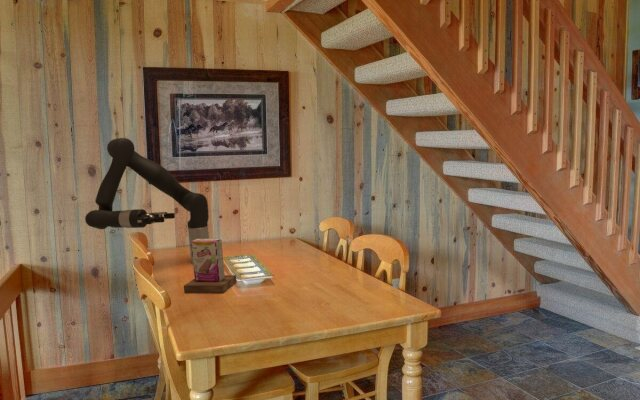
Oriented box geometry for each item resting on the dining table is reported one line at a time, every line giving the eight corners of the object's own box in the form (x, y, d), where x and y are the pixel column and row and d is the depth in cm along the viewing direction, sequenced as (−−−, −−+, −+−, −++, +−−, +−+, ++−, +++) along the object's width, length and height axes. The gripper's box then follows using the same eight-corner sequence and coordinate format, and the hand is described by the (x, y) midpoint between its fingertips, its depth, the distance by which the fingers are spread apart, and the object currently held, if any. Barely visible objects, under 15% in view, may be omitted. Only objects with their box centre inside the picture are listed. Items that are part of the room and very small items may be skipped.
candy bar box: (194, 281, 210) (190, 241, 208) (200, 278, 215) (196, 238, 212) (219, 282, 207) (215, 241, 204) (225, 278, 211) (221, 238, 209)
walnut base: (200, 282, 220) (199, 275, 219) (236, 282, 216) (235, 275, 216) (184, 293, 206) (183, 285, 206) (222, 293, 202) (222, 285, 202)
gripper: (122, 212, 211) (159, 211, 208) (141, 206, 225) (176, 205, 221) (124, 231, 212) (161, 230, 209) (143, 224, 226) (178, 223, 222)
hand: (169, 217), depth 215 cm, fingers open, 8 cm apart
